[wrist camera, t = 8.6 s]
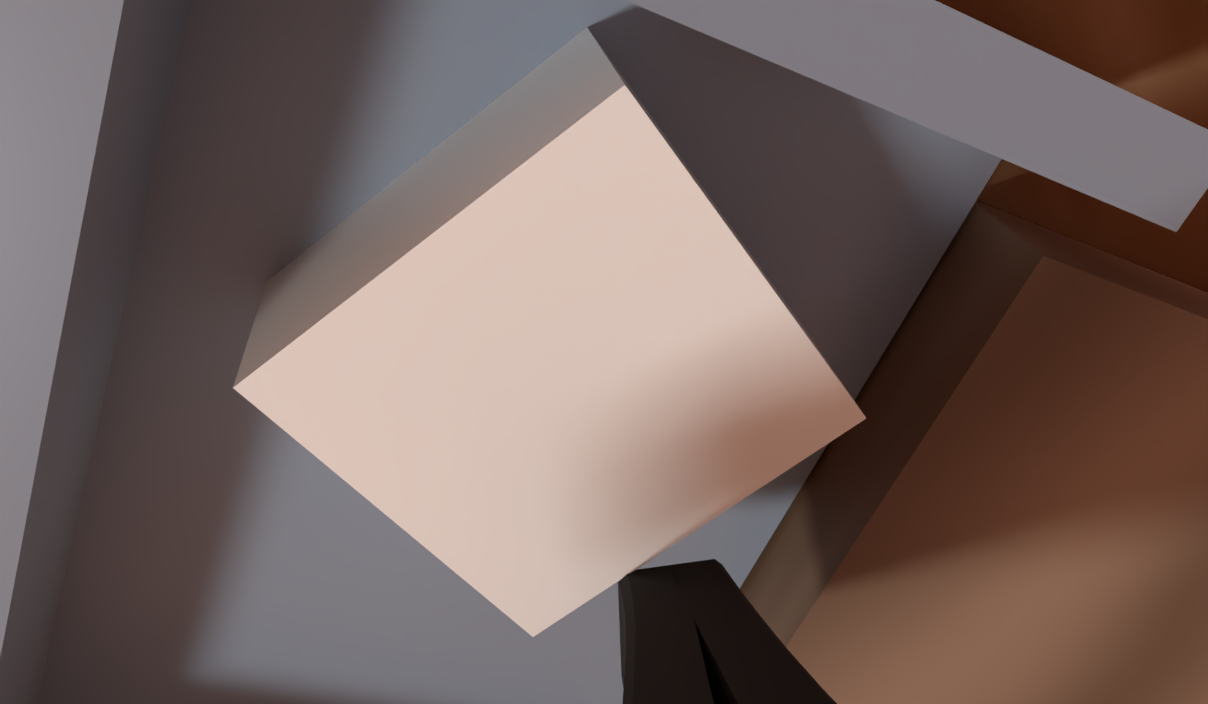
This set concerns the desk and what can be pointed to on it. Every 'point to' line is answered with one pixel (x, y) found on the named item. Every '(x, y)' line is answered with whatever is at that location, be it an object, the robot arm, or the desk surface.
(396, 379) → the tile
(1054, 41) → the desk surface
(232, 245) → the box
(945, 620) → the platform
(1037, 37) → the desk surface
